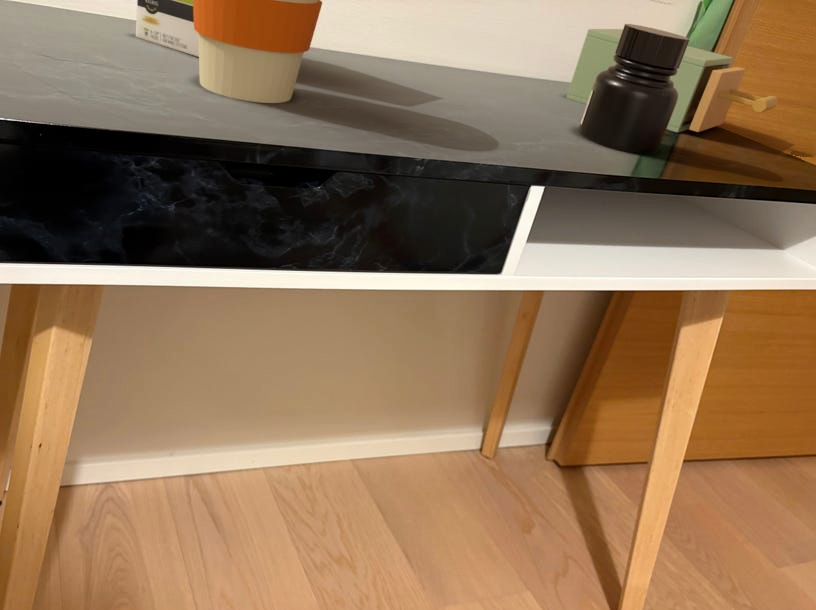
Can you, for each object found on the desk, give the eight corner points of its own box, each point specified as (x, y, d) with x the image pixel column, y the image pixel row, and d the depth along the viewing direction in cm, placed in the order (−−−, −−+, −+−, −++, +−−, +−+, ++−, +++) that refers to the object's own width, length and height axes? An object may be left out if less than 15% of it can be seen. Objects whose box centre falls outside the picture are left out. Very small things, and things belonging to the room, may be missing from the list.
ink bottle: (625, 135, 95) (665, 28, 89) (675, 160, 88) (721, 46, 82) (558, 128, 92) (595, 16, 86) (605, 153, 85) (647, 34, 79)
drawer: (766, 137, 107) (791, 81, 104) (744, 146, 98) (771, 86, 94) (623, 94, 117) (642, 41, 113) (591, 99, 107) (611, 42, 104)
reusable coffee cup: (312, 90, 85) (338, -68, 77) (304, 119, 74) (333, -61, 66) (193, 67, 84) (208, -95, 76) (168, 93, 73) (182, -93, 66)
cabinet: (705, 125, 112) (733, 57, 107) (676, 134, 102) (706, 60, 97) (601, 93, 119) (624, 29, 114) (565, 99, 109) (588, 28, 104)
